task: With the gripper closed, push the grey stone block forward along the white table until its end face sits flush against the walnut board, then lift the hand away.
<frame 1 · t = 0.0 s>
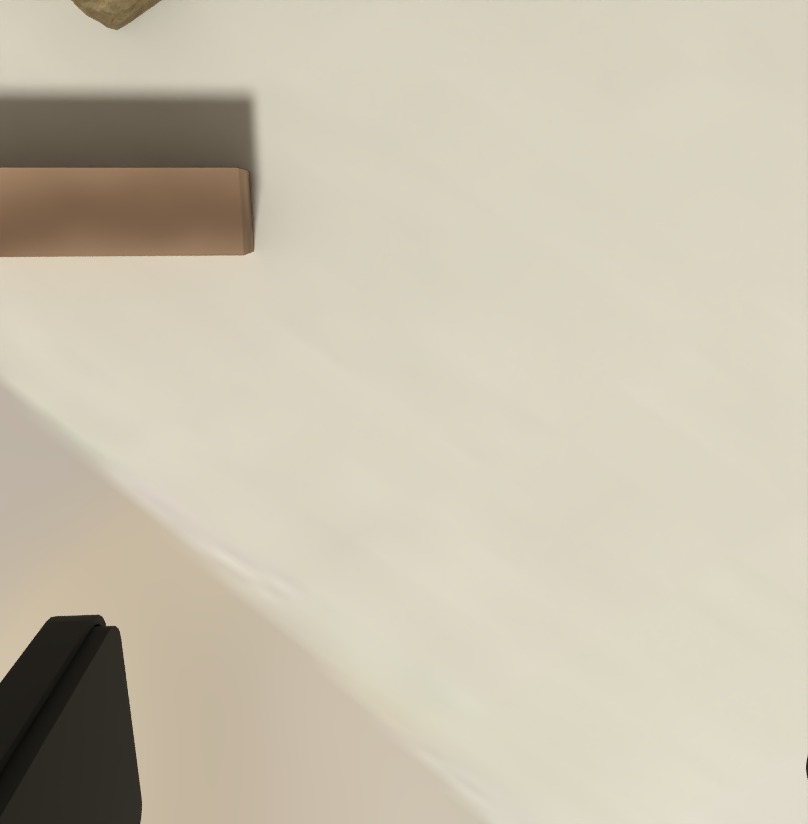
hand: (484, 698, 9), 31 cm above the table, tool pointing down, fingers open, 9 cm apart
board: (114, 212, 37), on the table
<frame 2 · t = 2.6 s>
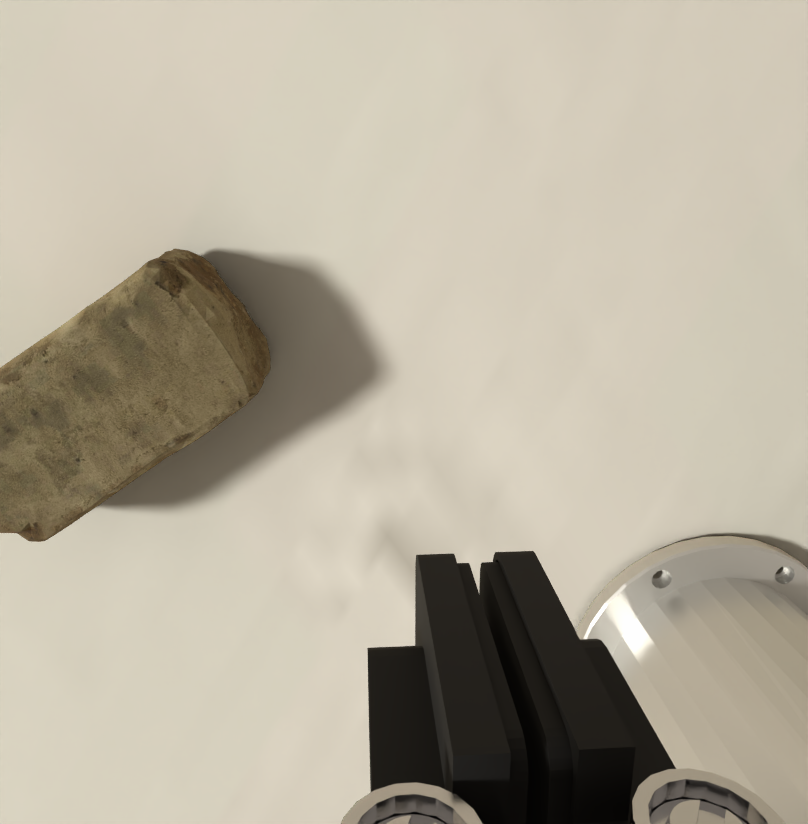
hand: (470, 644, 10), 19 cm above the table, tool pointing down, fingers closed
stone block: (131, 379, 28), on the table
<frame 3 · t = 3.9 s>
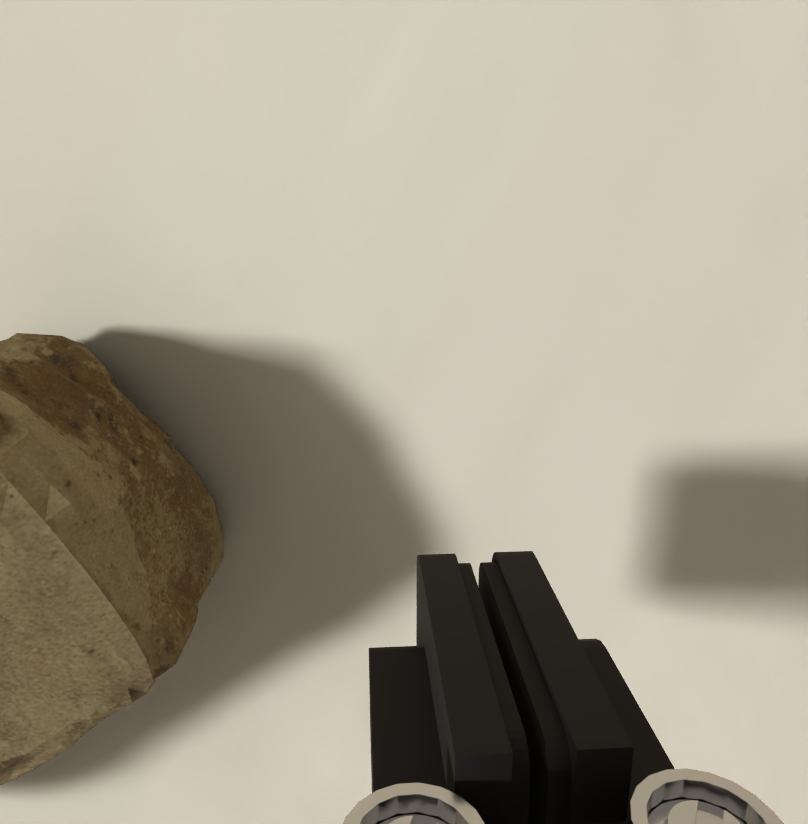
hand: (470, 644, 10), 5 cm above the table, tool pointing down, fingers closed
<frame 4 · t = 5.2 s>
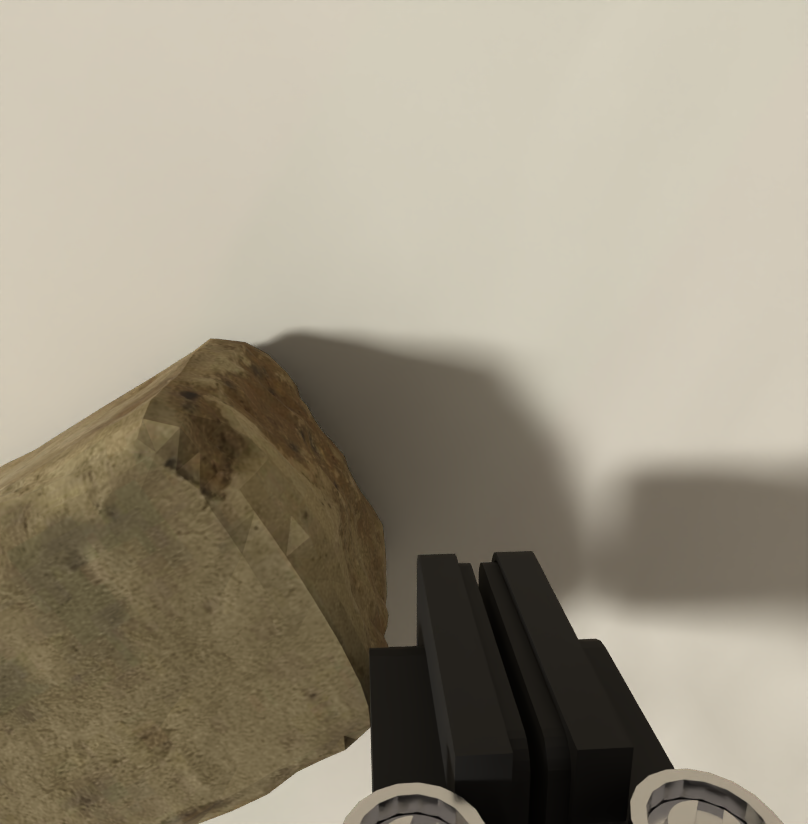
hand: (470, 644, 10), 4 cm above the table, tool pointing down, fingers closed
stone block: (99, 574, 14), on the table, touching gripper
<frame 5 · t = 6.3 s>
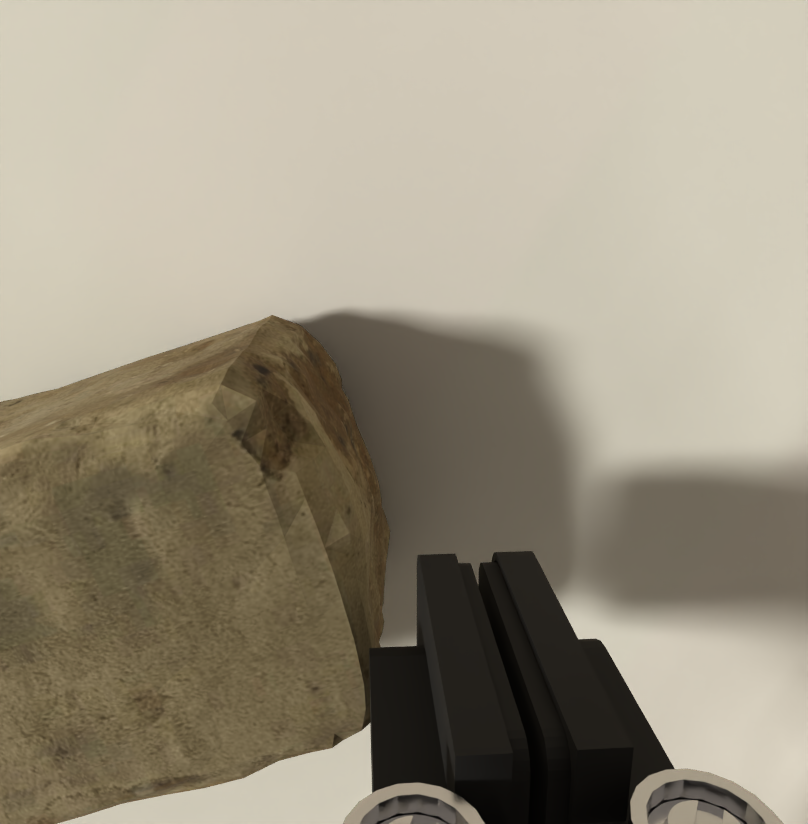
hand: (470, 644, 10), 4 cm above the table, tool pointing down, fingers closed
stone block: (91, 522, 14), on the table, touching gripper
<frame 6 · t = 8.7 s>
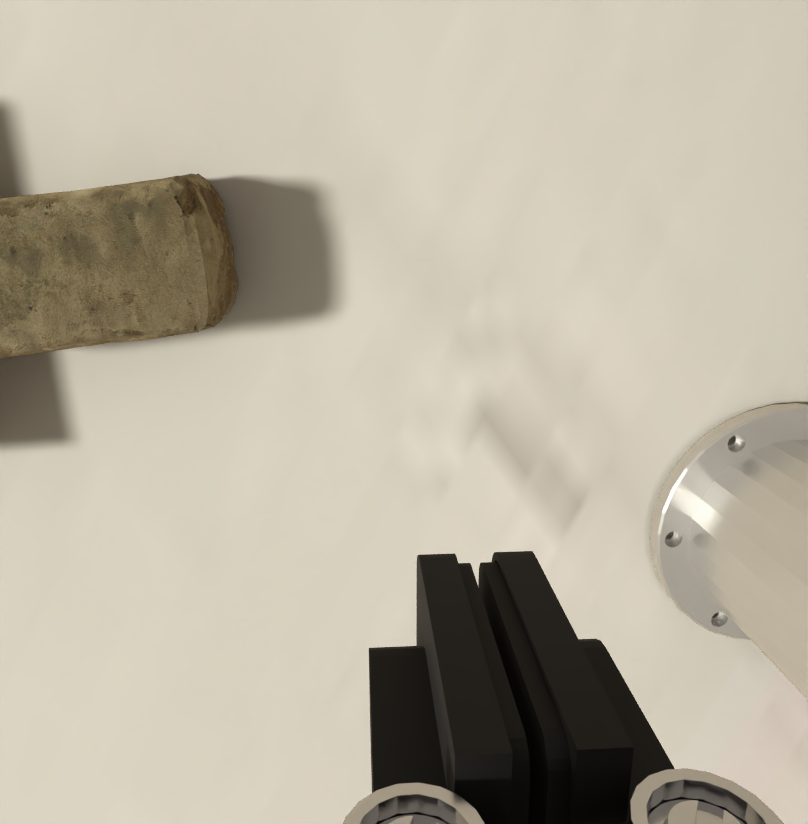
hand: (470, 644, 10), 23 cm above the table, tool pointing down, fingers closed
stone block: (102, 262, 30), on the table
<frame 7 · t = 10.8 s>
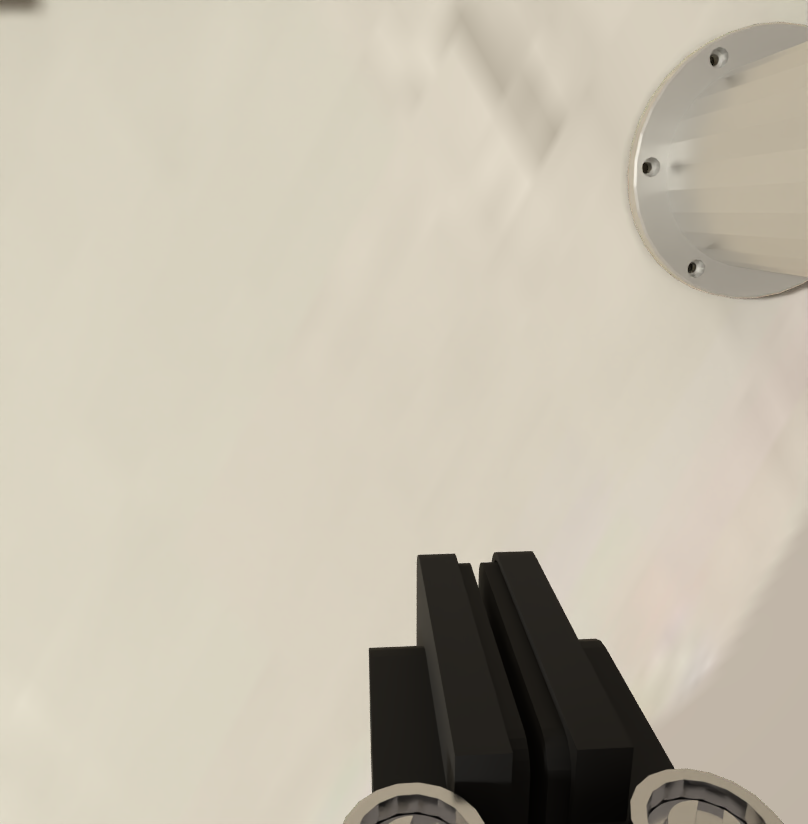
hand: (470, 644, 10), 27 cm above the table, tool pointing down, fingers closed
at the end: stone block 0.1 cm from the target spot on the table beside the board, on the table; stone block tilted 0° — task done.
